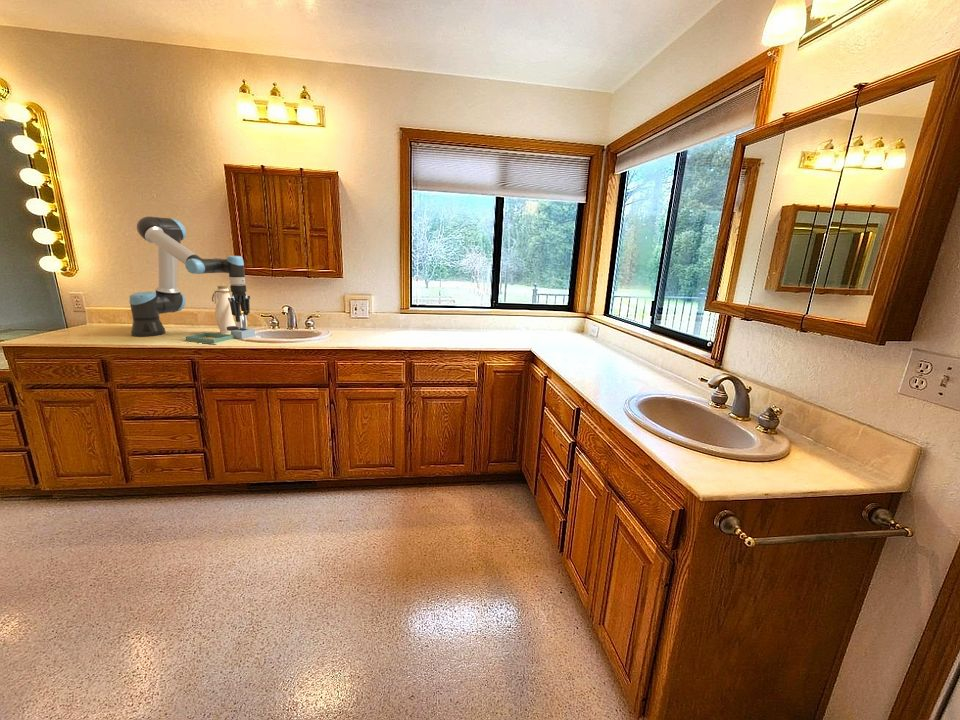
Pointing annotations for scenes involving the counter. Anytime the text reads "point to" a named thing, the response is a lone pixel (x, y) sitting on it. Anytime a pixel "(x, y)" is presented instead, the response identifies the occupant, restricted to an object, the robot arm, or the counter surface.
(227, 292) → the water bottle
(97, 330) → the counter surface
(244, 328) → the lock pin
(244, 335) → the tensioner block
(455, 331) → the counter surface
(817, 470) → the counter surface
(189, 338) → the tray
